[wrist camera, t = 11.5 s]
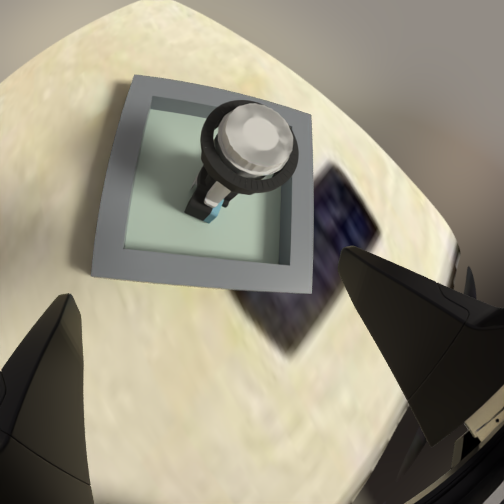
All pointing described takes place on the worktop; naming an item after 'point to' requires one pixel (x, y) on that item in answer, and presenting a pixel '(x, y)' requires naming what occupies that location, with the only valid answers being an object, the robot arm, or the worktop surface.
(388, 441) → the worktop surface
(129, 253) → the dock
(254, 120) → the push button
